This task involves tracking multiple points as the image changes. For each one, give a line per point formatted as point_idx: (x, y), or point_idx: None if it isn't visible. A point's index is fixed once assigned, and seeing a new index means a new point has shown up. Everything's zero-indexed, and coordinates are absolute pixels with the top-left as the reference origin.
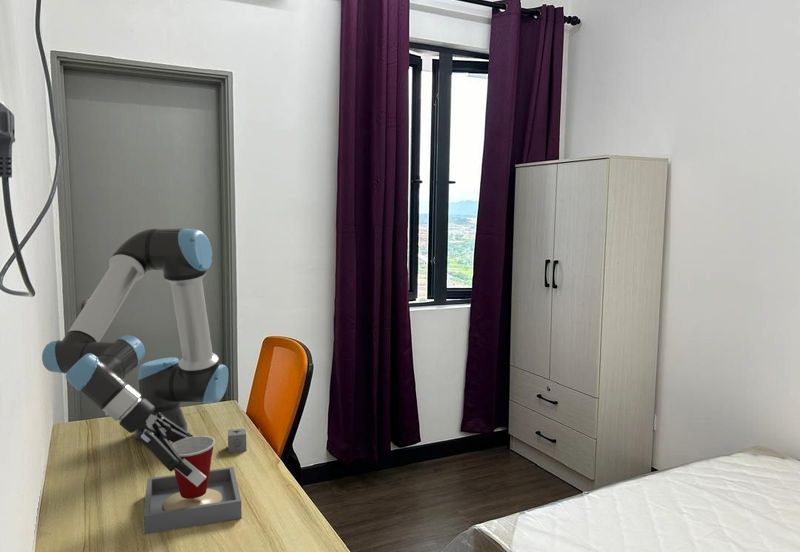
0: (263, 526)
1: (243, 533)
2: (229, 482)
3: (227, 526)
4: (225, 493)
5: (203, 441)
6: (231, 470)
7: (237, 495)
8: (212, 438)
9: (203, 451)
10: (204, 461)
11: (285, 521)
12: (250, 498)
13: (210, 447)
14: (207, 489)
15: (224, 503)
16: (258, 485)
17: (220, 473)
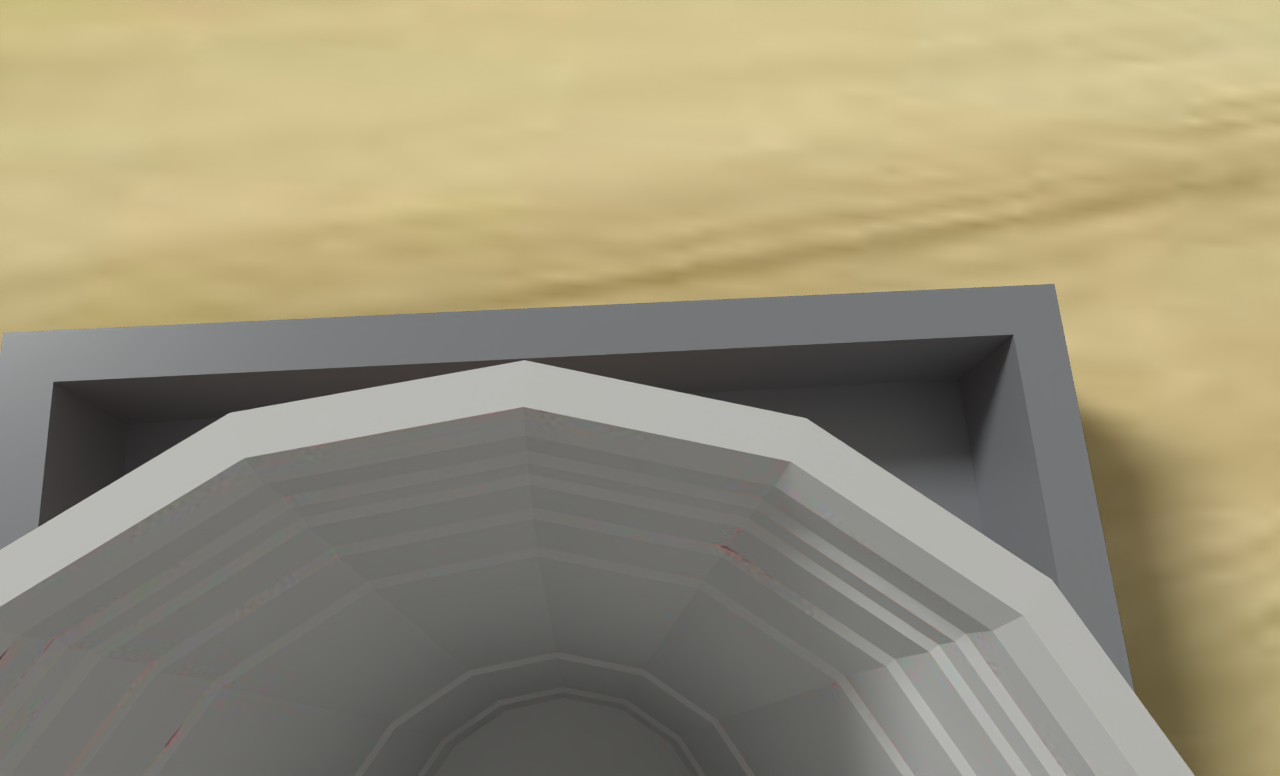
0: (1158, 185)
1: (1258, 347)
2: (186, 428)
3: (1111, 478)
4: None
5: (10, 755)
6: (124, 359)
7: (905, 316)
8: (241, 449)
9: (1129, 722)
10: (869, 700)
11: (1099, 21)
12: (577, 252)
13: (938, 513)
14: None
15: (1088, 461)
16: (299, 162)
17: (64, 509)
